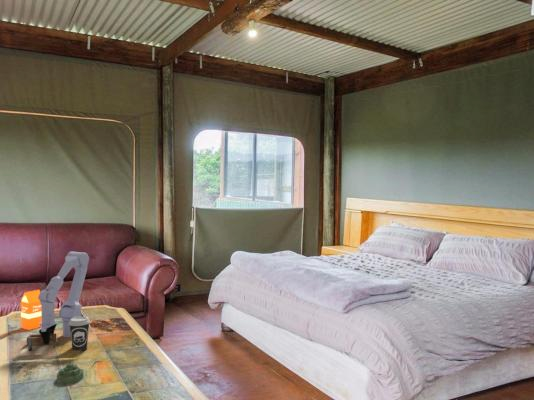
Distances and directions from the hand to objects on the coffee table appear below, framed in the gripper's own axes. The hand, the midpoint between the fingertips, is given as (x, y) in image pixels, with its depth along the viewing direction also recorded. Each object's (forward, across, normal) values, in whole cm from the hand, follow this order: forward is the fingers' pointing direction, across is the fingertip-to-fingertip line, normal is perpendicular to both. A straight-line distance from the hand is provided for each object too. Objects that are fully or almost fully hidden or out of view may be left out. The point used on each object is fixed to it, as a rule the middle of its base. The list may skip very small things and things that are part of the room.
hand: (48, 341), depth 232 cm
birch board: (+2, +5, -3) cm, 6 cm away
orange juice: (+2, -33, -18) cm, 37 cm away
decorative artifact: (+2, +42, +20) cm, 47 cm away
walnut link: (+1, 0, -3) cm, 3 cm away
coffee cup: (+2, +8, +16) cm, 18 cm away
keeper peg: (+2, +9, -6) cm, 11 cm away
